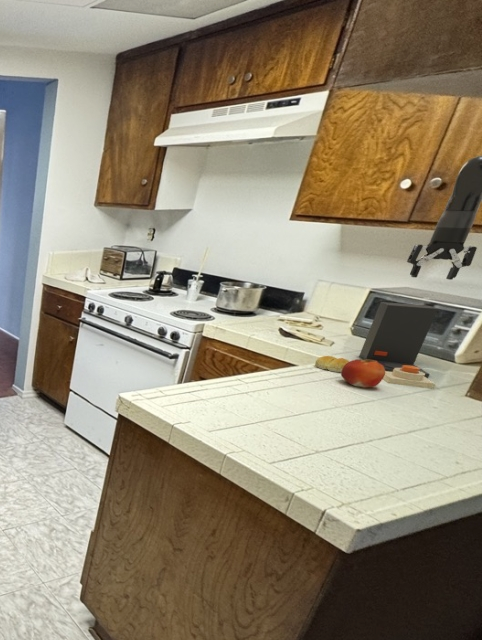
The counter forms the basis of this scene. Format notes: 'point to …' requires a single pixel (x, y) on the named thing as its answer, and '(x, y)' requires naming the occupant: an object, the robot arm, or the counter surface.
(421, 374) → the switch block
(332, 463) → the counter surface
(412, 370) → the power button
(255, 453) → the counter surface
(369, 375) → the tomato
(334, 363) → the bread roll
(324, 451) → the counter surface
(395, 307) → the dark grey orange-tab panel
